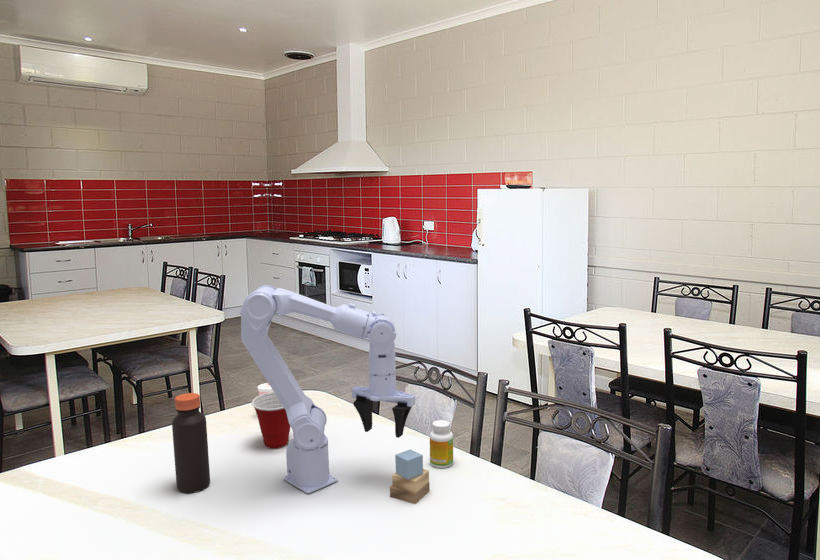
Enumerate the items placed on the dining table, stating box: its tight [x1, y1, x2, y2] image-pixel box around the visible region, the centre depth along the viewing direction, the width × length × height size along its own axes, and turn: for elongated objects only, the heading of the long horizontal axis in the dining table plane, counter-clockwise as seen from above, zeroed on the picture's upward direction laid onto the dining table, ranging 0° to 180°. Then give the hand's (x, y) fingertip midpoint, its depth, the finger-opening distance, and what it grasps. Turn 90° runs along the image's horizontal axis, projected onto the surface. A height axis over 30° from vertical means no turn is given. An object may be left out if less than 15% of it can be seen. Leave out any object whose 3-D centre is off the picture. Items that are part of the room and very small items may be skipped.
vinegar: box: [171, 392, 211, 494], centre depth 124 cm, size 7×7×20 cm
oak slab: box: [391, 468, 430, 493], centre depth 121 cm, size 6×6×2 cm
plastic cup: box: [251, 392, 291, 449], centre depth 146 cm, size 11×11×12 cm
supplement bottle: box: [429, 419, 454, 469], centre depth 134 cm, size 5×5×10 cm
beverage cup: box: [256, 382, 274, 396], centre depth 165 cm, size 6×6×14 cm
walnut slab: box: [389, 481, 431, 505], centre depth 121 cm, size 6×6×2 cm
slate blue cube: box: [394, 449, 424, 480], centre depth 120 cm, size 4×4×4 cm
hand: (383, 433), depth 126 cm, fingers open, 7 cm apart
